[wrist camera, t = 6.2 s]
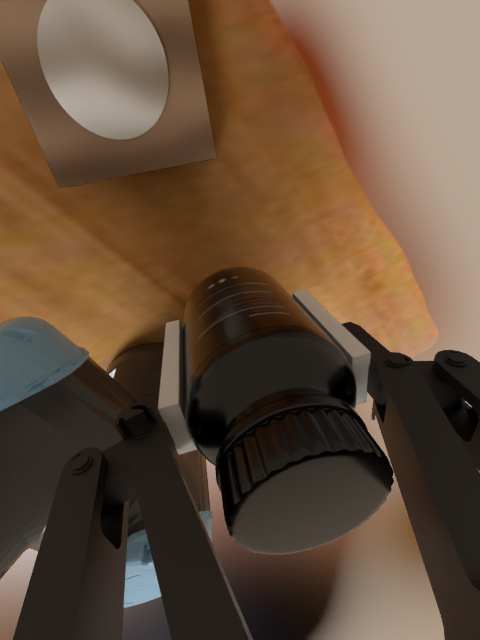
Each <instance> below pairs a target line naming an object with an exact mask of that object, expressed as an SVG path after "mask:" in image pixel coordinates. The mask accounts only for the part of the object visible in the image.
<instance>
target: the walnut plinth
mask: <svg viewBox="0 0 480 640" xmlns="http://www.w3.org/2000/svg"><path fill="white" fill-rule="evenodd" d="M0 59H1V61H2V63H3V65H4V68H5V70H6V72H7V74H8V76H9V79H10V81H11V83H12V85H13V87H14V90H15V92H16V94H17V96H18V98H19V101H20V103H21V105H22V107H23V109H24V112H25V114H26V116H27V118H28V120H29V123H30V125H31V127H32V129H33V131H34V134H35V136H36V138H37V140H38V142H39V145H40V147H41V149H42V151H43V153H44V156H45V158H46V160H47V162H48V164H49V167H50V169H51V171H52V173H53V176H54V178H55V180H56V182H57V184H58V187H59V188H63V187H70V186H77V185H82V184H87V183H93V182H98V181H103V180H108V179H113V178H118V177H124V176H129V175H134V174H139V173H144V172H149V171H155V170H160V169H165V168H170V167H175V166H181V165H186V164H191V163H196V162H201V161H206V160H212V159H214V158H217V157H216V151H215V146H214V140H213V135H212V129H211V124H210V118H209V113H208V107H207V102H206V96H205V91H204V85H203V80H202V74H201V69H200V63H199V58H198V52H197V47H196V41H195V36H194V30H193V25H192V19H191V14H190V8H189V3H188V0H0Z"/></svg>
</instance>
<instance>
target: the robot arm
mask: <svg viewBox="0 0 480 640" xmlns="http://www.w3.org/2000/svg"><path fill="white" fill-rule="evenodd" d="M292 293H293V299H294V300H295V301H296V302H297V303H298V304H299V305H300V306H301V307H302V308H303V309H304V311H305V312H306V313H307V314H308V315H309V316H310V317H311V318H312V319H313V320H314V321H315V322H316V323H317V324H318V326H319V327H320V328H321V329H322V330H323V331H324V332H325V333H326V334H327V335H328V336H329V337H330V338H331V340H332V341H333V342H334V343H335V344H336V345H337V346H338V347H339V348H340V350H341V351H342V352H343V353H344V355H345V356H346V357H347V359H348V360H349V362H350V364H351V366H352V368H353V371H354V374H355V379H356V385H357V401H356V405H357V404H360V403H365V402H367V392H368V393H369V394H370V396H371V397H372V398H373V408H372V420H374V419H375V415H376V418H377V421H378V424H379V427H380V430H381V433H382V436H383V439H384V442H385V445H386V448H387V451H388V455H389V458H390V461H391V464H392V467H393V470H394V473H395V476H396V479H397V482H398V485H399V488H400V491H401V494H402V497H403V501H404V503H405V506H406V510H407V513H408V516H409V519H410V522H411V525H412V528H413V531H414V534H415V537H416V540H417V543H418V547H419V550H420V552H421V555H422V559H423V562H424V565H425V568H426V571H427V574H428V577H429V580H430V583H431V586H432V590H433V592H434V596H435V599H436V602H437V605H438V608H439V611H440V614H441V618H442V622H443V626H444V636H445V640H480V473H479V471H480V362H478V361H477V360H476V359H474V358H473V357H471V356H469V355H468V354H466V353H463V352H459V351H454V350H443V351H440V352H438V353H437V354H436V355H435V358H434V361H413V360H412V359H411V358H410V357H408V356H406V355H404V354H401V353H395V352H389V351H388V350H387V349H386V348H385V347H384V346H382V345H381V344H380V343H379V342H378V341H377V340H375V339H374V338H373V337H371V335H370V334H368V333H366V331H365V330H364V329H363V328H362V327H360V326H359V325H356V324H354V323H352V322H348V323H344V324H340V323H339V322H338V321H337V320H336V319H335V318H334V317H333V316H332V315H331V314H330V313H329V312H328V311H327V310H326V309H325V308H324V307H322V306H321V305H320V304H319V303H318V302H317V301H316V300H315V299H314V298H313V297H312V296H311V295H310V294H309V293H308V292H307V291H306V290H301V291H297V292H292ZM465 401H467V402H468V403H469V404H470V405H471V406H472V407H470V406H469V405H468V404H467V403H466V402H465ZM478 470H479V471H478ZM211 540H212V512H211V511H210V501H209V490H208V479H207V468H206V458H205V457H204V456H203V455H202V454H201V453H200V452H199V451H198V449H197V448H196V446H195V445H194V444H193V442H192V440H191V438H190V436H189V433H188V430H187V427H186V422H185V413H184V363H183V330H182V327H181V323H180V320H176V321H172V322H167V323H166V329H165V340H164V343H149V344H144V345H140V346H136V347H134V348H131V349H129V350H127V351H125V352H124V353H122V354H121V355H119V356H118V357H117V358H116V359H115V360H114V361H113V362H112V363H111V365H110V366H109V368H108V369H107V372H106V371H104V370H103V369H102V368H101V367H100V366H99V365H98V364H97V363H96V362H94V361H93V360H92V359H91V358H90V357H89V352H88V351H87V350H86V349H85V348H82V347H79V346H77V345H76V344H74V343H73V342H72V341H71V340H70V339H68V338H67V337H66V336H65V335H63V334H62V333H61V332H60V331H59V330H57V329H56V328H55V327H54V326H52V325H51V324H50V323H48V322H46V321H44V320H42V319H38V318H34V317H19V318H13V319H10V320H7V321H4V322H1V323H0V579H1V578H2V577H3V576H4V574H5V573H6V572H7V571H8V570H9V568H10V567H11V566H12V565H13V564H14V563H15V562H16V560H17V559H18V558H19V557H20V556H21V554H22V553H23V552H24V551H25V550H27V549H28V548H31V549H34V550H36V551H38V555H37V558H36V562H35V565H34V569H33V572H32V576H31V579H30V582H29V586H28V589H27V593H26V596H25V599H24V603H23V606H22V610H21V613H20V617H19V620H18V623H17V627H16V631H15V634H14V637H13V640H122V627H123V609H124V608H125V607H129V606H133V605H137V604H140V603H144V602H147V601H150V600H153V599H155V598H158V597H161V596H162V601H163V605H164V608H165V613H166V617H167V621H168V625H169V629H170V634H171V638H172V640H253V639H252V636H251V634H250V632H249V629H248V627H247V625H246V622H245V620H244V618H243V615H242V613H241V610H240V608H239V606H238V604H237V601H236V599H235V596H234V594H233V592H232V589H231V587H230V585H229V582H228V580H227V578H226V575H225V573H224V570H223V568H222V566H221V564H220V561H219V559H218V556H217V554H216V552H215V549H214V547H213V545H212V541H211Z"/></svg>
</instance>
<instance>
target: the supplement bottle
mask: <svg viewBox="0 0 480 640" xmlns="http://www.w3.org/2000/svg"><path fill="white" fill-rule="evenodd" d="M183 363H184V413H185V422H186V427H187V430H188V433H189V436H190V438H191V440H192V442H193V444H194V445H195V446H196V448H197V449H198V451H199V452H200V453H201V454H202V455H203V456H204V457H205V458H206V459H207V460H208V461H209V462H211V463H212V464H213V465H215V467H216V479H217V484H218V487H219V489H220V491H221V494H222V501H223V509H224V516H225V521H226V524H227V530H228V533H229V535H230V536H231V537H233V539H234V542H235V543H236V544H239V545H241V546H242V548H243V549H248V550H251V551H252V552H254V553H262V554H264V555H265V554H275V555H280V554H292V553H295V552H300V551H306V550H309V549H311V548H316V547H320V546H322V545H324V544H326V543H329V542H332V541H334V540H336V539H338V538H340V537H342V536H344V535H346V534H348V533H349V532H350V531H352V530H354V529H356V528H358V527H359V526H360V525H361V524H362V523H364V522H365V521H367V520H368V519H369V518H370V517H371V516H372V515H373V514H374V513H375V512H376V511H378V509H379V508H380V506H381V505H382V504H383V503H384V502H385V501H386V498H387V496H388V494H389V493H390V492H391V486H392V484H393V482H394V480H393V478H392V476H393V470H392V467H391V466H390V463H389V461H388V458H387V457H386V455H385V454H384V452H383V451H382V450H381V448H380V447H379V446H378V444H377V443H376V441H375V440H374V439H373V437H371V435H370V433H369V432H368V431H367V427H366V425H365V423H364V422H363V420H362V419H361V418H360V416H359V415H358V414H357V412H356V411H355V406H356V401H357V385H356V379H355V374H354V371H353V368H352V366H351V364H350V362H349V360H348V359H347V357H346V356H345V355H344V353H343V352H342V351H341V350H340V348H339V347H338V346H337V345H336V344H335V343H334V342H333V341H332V340H331V338H330V337H329V336H328V335H327V334H326V333H325V332H324V331H323V330H322V329H321V328H320V327H319V326H318V324H317V323H316V322H315V321H314V320H313V319H312V318H311V317H310V316H309V315H308V314H307V313H306V312H305V311H304V309H303V308H302V307H301V306H300V305H299V304H298V303H297V302H296V301H295V300H294V299H293V298H292V297H291V296H290V295H289V293H288V292H287V291H286V290H285V289H284V288H283V287H282V286H281V285H280V284H279V283H278V282H277V281H276V280H275V279H273V278H272V277H271V276H269V275H268V274H266V273H264V272H262V271H260V270H257V269H253V268H248V267H233V268H227V269H223V270H220V271H218V272H215V273H213V274H212V275H210V276H208V277H207V278H205V279H204V280H203V281H202V282H201V283H200V284H199V285H198V286H197V287H196V288H195V289H194V290H193V292H192V293H191V295H190V297H189V298H188V301H187V303H186V306H185V310H184V316H183Z"/></svg>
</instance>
